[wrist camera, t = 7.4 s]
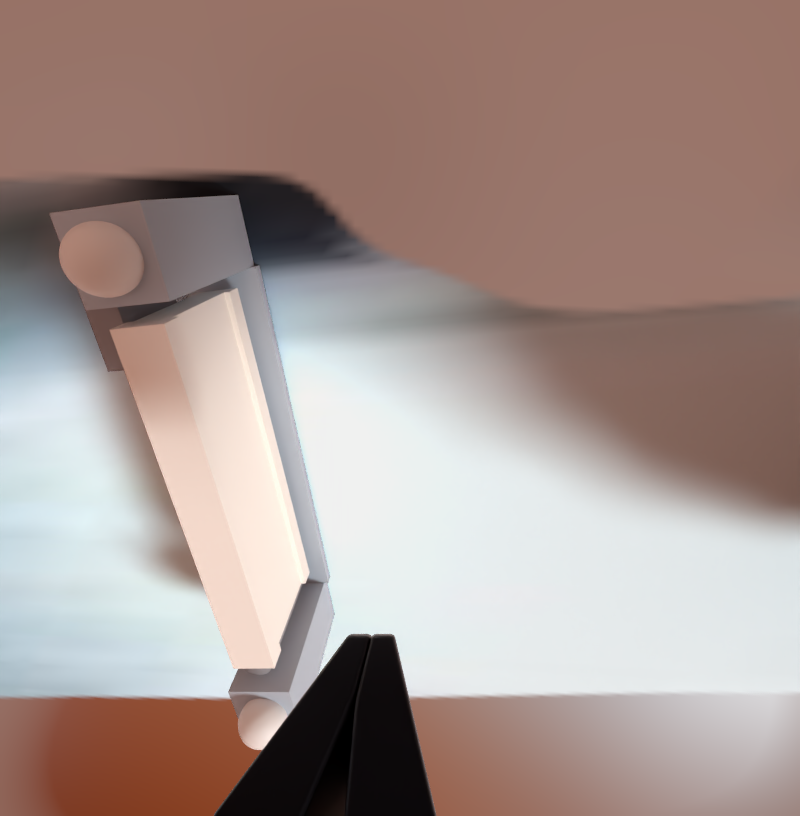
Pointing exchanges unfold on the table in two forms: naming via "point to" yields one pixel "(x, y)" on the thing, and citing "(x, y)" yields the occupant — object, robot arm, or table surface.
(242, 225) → the gate frame
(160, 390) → the gate
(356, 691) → the robot arm
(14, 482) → the table surface
